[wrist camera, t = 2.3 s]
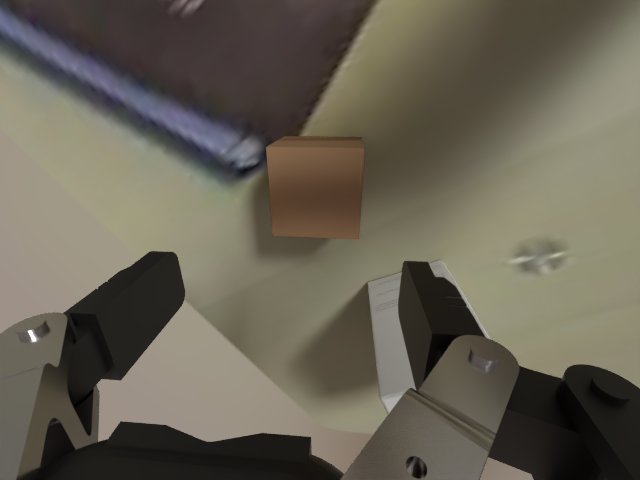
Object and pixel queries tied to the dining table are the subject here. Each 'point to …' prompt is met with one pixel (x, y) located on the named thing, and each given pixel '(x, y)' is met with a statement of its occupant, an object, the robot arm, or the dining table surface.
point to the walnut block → (316, 186)
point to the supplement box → (396, 335)
